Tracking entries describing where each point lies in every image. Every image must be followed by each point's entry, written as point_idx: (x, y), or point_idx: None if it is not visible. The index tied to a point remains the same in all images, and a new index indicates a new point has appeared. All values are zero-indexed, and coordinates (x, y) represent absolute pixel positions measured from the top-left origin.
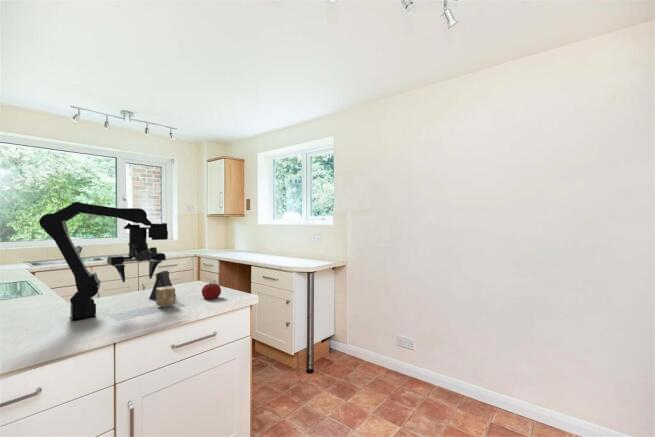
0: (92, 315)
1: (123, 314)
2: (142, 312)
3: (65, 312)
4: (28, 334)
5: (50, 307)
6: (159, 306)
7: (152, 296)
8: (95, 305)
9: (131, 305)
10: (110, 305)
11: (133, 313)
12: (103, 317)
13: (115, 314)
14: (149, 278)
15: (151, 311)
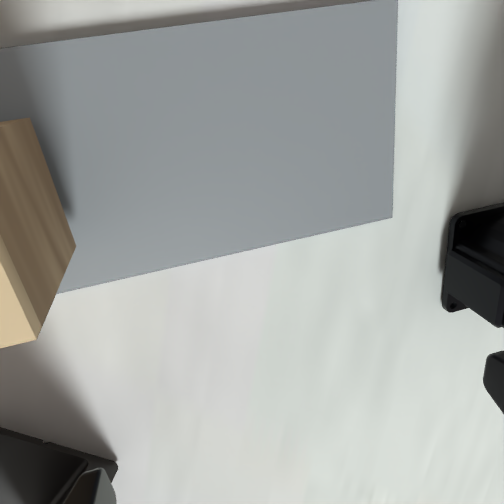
0: (465, 240)
1: (324, 164)
2: (202, 125)
3: None
4: None
5: (501, 491)
6: None
7: None
8: (497, 275)
9: (233, 387)
10: (326, 434)
11: (264, 144)
12: (416, 201)
13: (362, 201)
14: (114, 494)
15: (130, 103)
